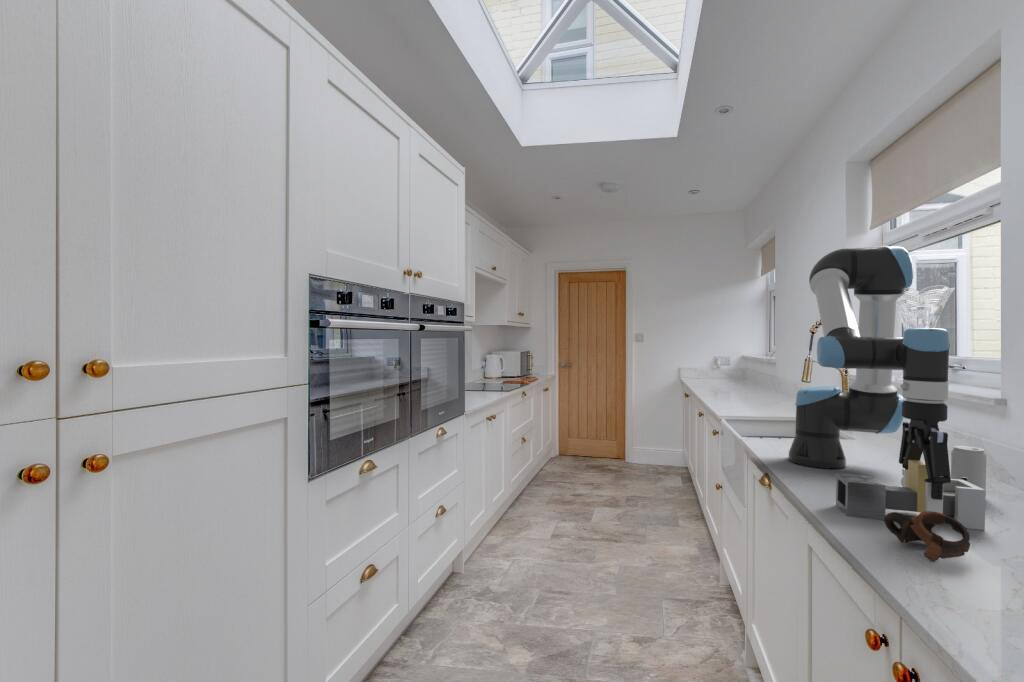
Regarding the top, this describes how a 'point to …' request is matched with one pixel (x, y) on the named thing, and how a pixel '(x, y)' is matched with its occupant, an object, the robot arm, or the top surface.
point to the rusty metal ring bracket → (929, 533)
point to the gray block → (860, 496)
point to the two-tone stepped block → (916, 492)
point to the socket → (968, 503)
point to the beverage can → (969, 465)
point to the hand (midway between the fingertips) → (922, 506)
